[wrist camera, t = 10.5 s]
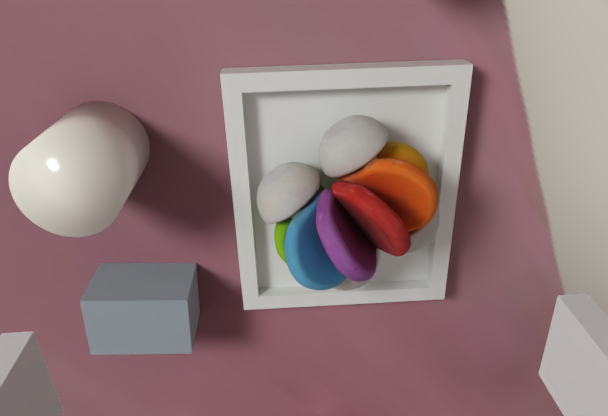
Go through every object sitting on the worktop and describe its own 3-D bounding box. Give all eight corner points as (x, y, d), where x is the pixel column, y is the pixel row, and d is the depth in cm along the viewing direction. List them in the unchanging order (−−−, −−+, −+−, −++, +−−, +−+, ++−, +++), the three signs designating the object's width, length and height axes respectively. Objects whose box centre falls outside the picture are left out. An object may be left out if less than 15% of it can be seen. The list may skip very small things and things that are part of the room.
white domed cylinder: (48, 102, 27) (-6, 140, 22) (142, 99, 28) (110, 135, 22) (70, 186, 30) (25, 239, 24) (156, 183, 30) (131, 234, 25)
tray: (222, 68, 27) (220, 74, 26) (464, 59, 28) (473, 64, 26) (245, 296, 34) (243, 309, 33) (438, 286, 34) (444, 299, 33)
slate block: (101, 262, 32) (79, 301, 29) (196, 261, 33) (187, 300, 29) (109, 312, 34) (90, 354, 31) (200, 311, 35) (191, 353, 31)
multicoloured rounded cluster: (450, 197, 31) (497, 264, 24) (320, 280, 33) (332, 361, 27) (374, 85, 27) (405, 129, 21) (235, 187, 30) (225, 253, 23)
